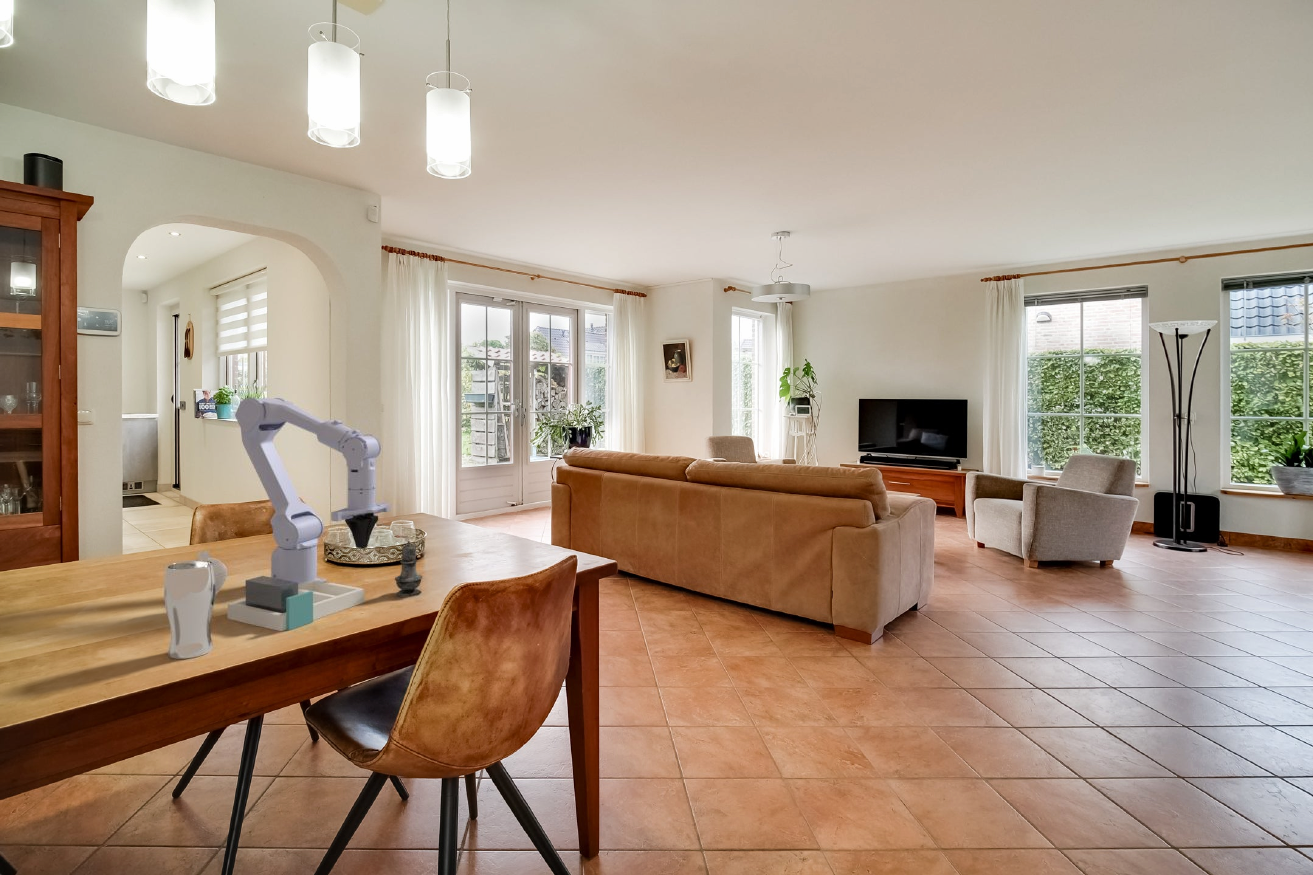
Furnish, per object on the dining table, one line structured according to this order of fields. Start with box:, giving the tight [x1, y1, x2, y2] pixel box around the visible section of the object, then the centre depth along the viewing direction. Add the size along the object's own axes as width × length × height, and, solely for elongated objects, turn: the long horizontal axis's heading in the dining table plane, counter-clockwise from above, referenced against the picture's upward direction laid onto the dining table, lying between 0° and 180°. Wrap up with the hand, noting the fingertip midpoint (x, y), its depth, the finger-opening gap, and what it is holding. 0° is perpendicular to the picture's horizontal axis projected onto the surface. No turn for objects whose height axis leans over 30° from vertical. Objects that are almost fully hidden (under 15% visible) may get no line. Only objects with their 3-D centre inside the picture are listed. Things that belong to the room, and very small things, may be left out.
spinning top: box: [195, 550, 228, 597], centre depth 126 cm, size 8×8×12 cm
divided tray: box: [227, 580, 366, 632], centre depth 128 cm, size 16×19×6 cm
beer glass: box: [163, 559, 216, 660], centre depth 106 cm, size 7×7×15 cm
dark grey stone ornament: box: [394, 540, 424, 598], centre depth 141 cm, size 6×6×12 cm
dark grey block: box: [245, 575, 298, 614], centre depth 122 cm, size 10×4×7 cm, turn 68°
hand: (361, 547), depth 143 cm, fingers closed
